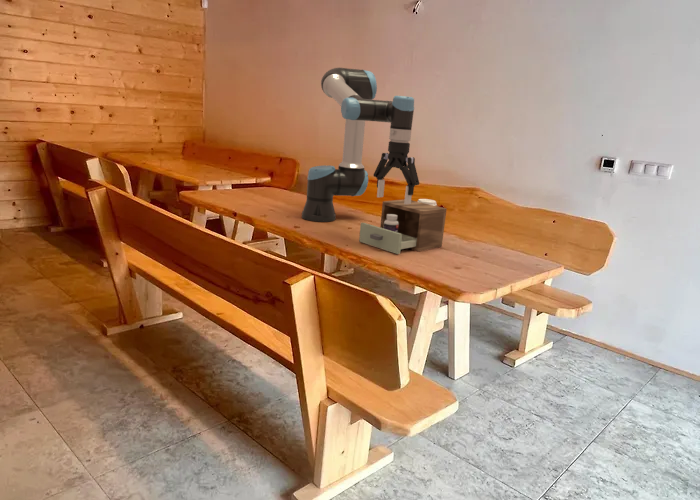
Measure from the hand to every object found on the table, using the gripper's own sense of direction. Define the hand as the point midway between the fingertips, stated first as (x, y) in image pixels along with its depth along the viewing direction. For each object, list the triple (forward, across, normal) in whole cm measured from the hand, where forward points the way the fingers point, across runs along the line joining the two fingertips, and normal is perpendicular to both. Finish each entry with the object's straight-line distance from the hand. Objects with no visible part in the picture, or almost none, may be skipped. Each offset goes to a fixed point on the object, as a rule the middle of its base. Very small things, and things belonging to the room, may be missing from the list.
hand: (393, 200), depth 191 cm
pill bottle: (+15, 0, 0) cm, 15 cm away
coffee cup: (+18, -5, +26) cm, 32 cm away
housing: (+17, 0, +12) cm, 21 cm away
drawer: (+17, 0, -1) cm, 17 cm away
